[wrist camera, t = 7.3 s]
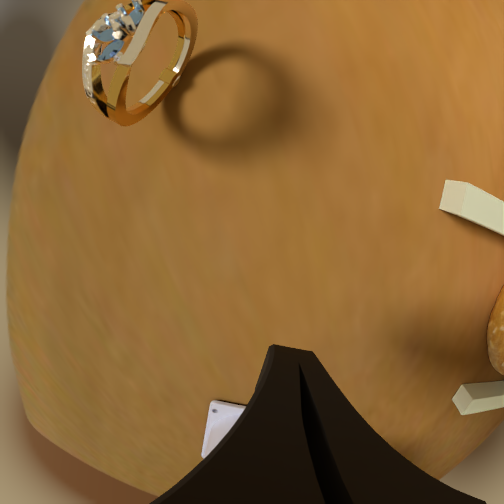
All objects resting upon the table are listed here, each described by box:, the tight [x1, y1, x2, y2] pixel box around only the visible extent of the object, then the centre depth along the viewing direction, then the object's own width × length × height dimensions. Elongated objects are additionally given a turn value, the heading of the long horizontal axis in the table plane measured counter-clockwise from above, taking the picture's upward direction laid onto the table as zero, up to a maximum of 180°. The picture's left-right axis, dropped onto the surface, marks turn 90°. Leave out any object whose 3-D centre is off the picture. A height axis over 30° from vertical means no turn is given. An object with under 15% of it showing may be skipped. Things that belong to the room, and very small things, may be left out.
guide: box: [439, 180, 504, 415], centre depth 16 cm, size 18×21×3 cm
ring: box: [82, 0, 198, 126], centre depth 11 cm, size 7×3×8 cm, turn 146°
